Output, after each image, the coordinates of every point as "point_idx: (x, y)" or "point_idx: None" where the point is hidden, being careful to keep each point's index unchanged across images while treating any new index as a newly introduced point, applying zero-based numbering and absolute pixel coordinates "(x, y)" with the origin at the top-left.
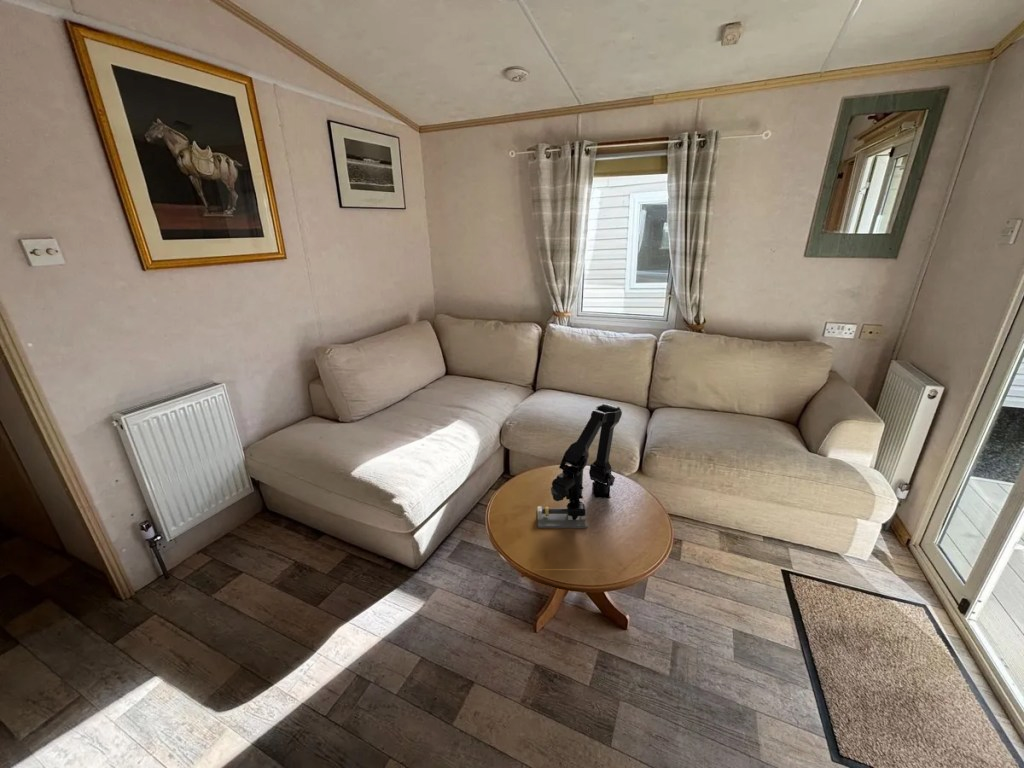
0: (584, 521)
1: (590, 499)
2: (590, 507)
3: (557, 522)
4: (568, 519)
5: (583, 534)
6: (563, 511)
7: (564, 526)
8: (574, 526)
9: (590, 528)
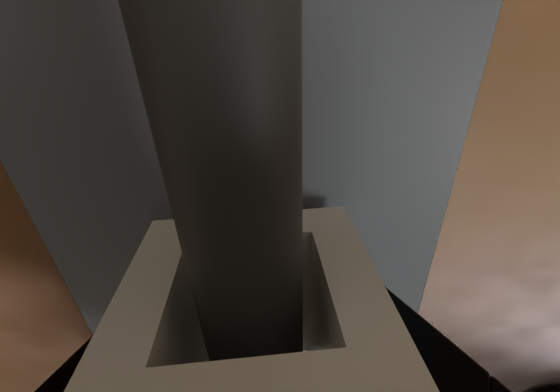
0: None
1: (528, 364)
2: None
3: (35, 5)
4: (160, 222)
5: (25, 327)
6: (172, 211)
7: (4, 146)
8: (72, 275)
9: None
